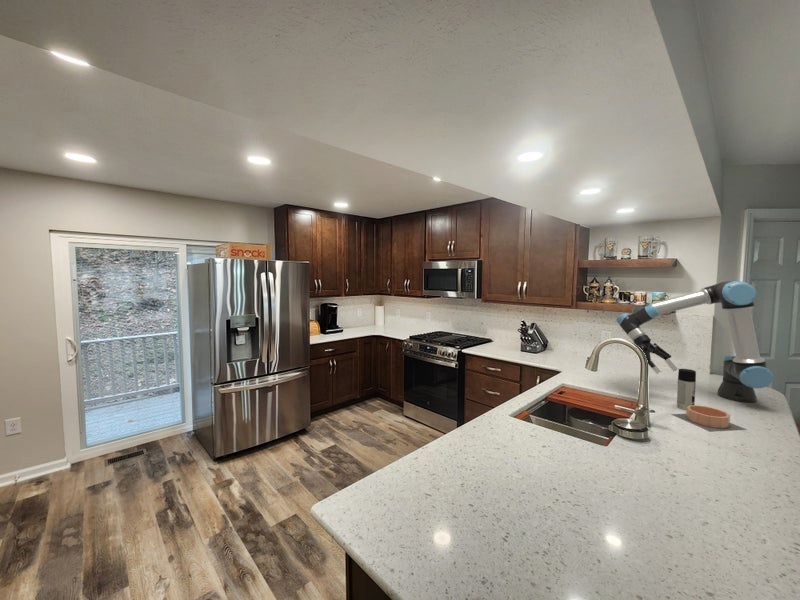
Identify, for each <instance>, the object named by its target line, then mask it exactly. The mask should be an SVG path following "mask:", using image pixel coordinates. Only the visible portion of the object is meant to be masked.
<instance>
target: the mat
mask: <svg viewBox="0 0 800 600" xmlns="http://www.w3.org/2000/svg"><path fill="white" fill-rule="evenodd" d="M670 415H671V416H674V417H675V418H677V419H680V420H683V421H685V422H687V423H689V424H691V425H694V426H696V427H698V428H700V429H702V430H706V431H708V432H728V431H730V432H731V431H748V429H747V428H745V427H742V426H740V425H737V424H735V423H732V422H730V425H729V427H728V428H724V429H721V428H712V427H707V426H703V425H699V424H696V423H694V422H692V421H690V420H688V419H687V416H686V413H671V414H670Z"/></svg>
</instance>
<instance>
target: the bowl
mask: <svg viewBox="0 0 800 600" xmlns="http://www.w3.org/2000/svg"><path fill="white" fill-rule="evenodd" d="M685 414H686V416H687V419H688V420H690V421H692V422H694V423H696V424H699V425H703V426H707V427H712V428H721V429H724V428H728V427H729V425H730V423H731V421H730V420H731V414H730V413H728V412H727V411H724V410H721V409H719V408H715V407H711V406H706V405H698V404H696V405H689V406H688V407H687V410H685Z"/></svg>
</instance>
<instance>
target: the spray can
mask: <svg viewBox="0 0 800 600" xmlns="http://www.w3.org/2000/svg"><path fill="white" fill-rule="evenodd" d="M696 375H697V371H696V370H694V369H688V368H679V369H678V375H677V393H676V394H677V395H676V408H677V409H679V410H681V411H686V410H687V407H688V406H689V405H695V400H696V399H695V398H696V381H697V376H696Z"/></svg>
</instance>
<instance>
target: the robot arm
mask: <svg viewBox="0 0 800 600" xmlns="http://www.w3.org/2000/svg"><path fill="white" fill-rule="evenodd" d="M756 298H757V291H756V288H755V287H754V286H753V285H752V284H750V283H747V282H744V281H739V280H736V281H730V280H729V281H722V282H718V283H716V284H715V283H714V284H712V285H708V286H706V287H701V289H700V290H698V291H694V292H689V293H685V294H682V295H678V296H674V297H670V298H667V299H666V298H665V299H663V300H658V301H654V302H651V303H647V304H643V305H637V306H635V307H633V308H632V310H631V313H630V314H629V313H628V312H624V313H621V314H619V315H618V316H617V317H616V318H615V319H616V322H617V323H618V325H619V327H620V328H621V329H622V330H623V331H624V333H625V334H626V335H627V336H628V338H629V339H630V340H631V341H632V342H633V343H634V345H635V344H636V345H637V346H638V347H640V348H641V349H642V350H643V352H644V353H645V355H646V358H647V360H648V363H647V364H648V366H649V367H650V368H651V369H652V371H654V373H655V374H656V375H658V374H659V373H662V369H661V368H660V367H659V366H658V364H657V363H656V362H655V361H654V360H653V359H652V358H651V354H655V355H656V356H657V357H660V358H661V359H663V360H664V362H665V363H666V364H667V366H668V367H669V368H670V369H671V371H673V372H676V371H677V370H679V369H680V368H679V367H678V366H677V365H676V364H675V362H674V361H673V360H672V359H671V358H672V355H671V354H669V352H667V351H666V350H664V349H663V348H662V347H660V346H659V345H658V344H657V343H656V342H654V343H652V342H651V341H652V339H651V338H650V337H649V336H648V335H647V334H646V332H645V331H644V329H642V328H641V327H640V326H642V325H644V324H645V323H648V322H649V321H652V320H654V319H656V318H657V317H658V316H660V315H663V314H667V313H672V312H675V311H680V310H684V309H687V308H692V307H697V306H701V305H705V304H707V305H713V304H714V305H715V304H721V308H722V309H721V310H723V311H725V312H726V314H727V318H728V322H729V327H730V328H729V329H730V333H731V338H732V343H733V348H734V353H735V355H725V356H724V357H723V368H722V369H723V371H722V381H721V383H720V385H719V387H718V389H717V395H718V396H719V397H721V398H724V399H727V400H731V401H735V402H742V403H756V402H757V400H758V397H757V394H756V392H755V389H763V388H766V387H768V386H770V385H771V384H772V383H773V381H774V375H773V372H772V371H771V369H769V368H768V367H767V362H766V359H765V358H763V357H762V356H761V355H760V349H759V345H758V339H757V333H756V330H755V329H756V328H755V325H754V324H755V323H754V320H753V319H754V318H753V314H752V309H754V308H755V302H754V300H755V299H756ZM636 345H635V346H636ZM637 346H636V347H637Z"/></svg>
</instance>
